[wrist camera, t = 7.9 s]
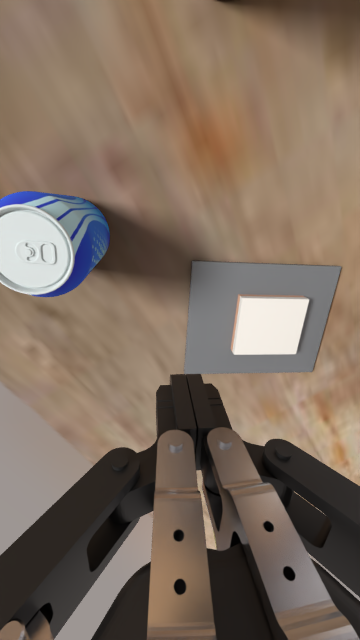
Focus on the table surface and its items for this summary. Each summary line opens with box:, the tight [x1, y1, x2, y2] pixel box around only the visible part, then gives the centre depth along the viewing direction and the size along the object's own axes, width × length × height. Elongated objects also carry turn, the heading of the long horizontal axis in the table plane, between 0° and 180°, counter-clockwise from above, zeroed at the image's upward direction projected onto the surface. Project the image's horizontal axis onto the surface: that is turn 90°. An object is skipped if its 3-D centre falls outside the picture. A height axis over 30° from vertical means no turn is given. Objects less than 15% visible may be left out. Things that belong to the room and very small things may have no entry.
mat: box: [184, 261, 341, 374], centre depth 42 cm, size 18×22×1 cm
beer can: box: [0, 191, 110, 297], centre depth 28 cm, size 8×8×16 cm
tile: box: [231, 294, 309, 355], centre depth 42 cm, size 9×2×10 cm
